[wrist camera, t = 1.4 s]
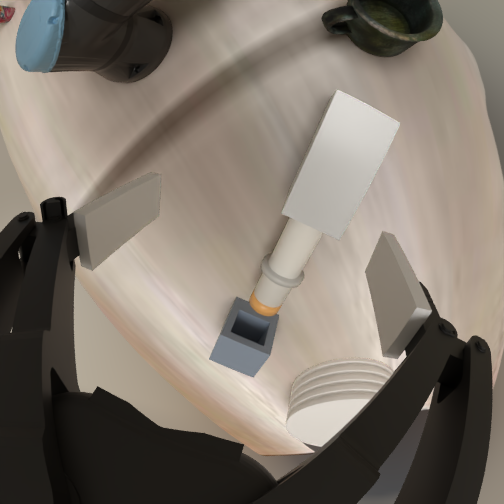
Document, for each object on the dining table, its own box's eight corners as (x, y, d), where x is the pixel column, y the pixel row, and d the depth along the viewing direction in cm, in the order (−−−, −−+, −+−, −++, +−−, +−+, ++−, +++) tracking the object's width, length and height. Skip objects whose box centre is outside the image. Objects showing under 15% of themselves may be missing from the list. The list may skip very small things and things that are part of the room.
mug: (422, 55, 25) (458, 39, 15) (336, 71, 30) (345, 52, 20) (393, -3, 21) (415, -35, 11) (306, 11, 26) (302, -25, 16)
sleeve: (331, 96, 32) (337, 89, 24) (379, 121, 32) (400, 123, 24) (288, 191, 41) (281, 213, 32) (334, 212, 41) (339, 240, 32)
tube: (334, 103, 31) (338, 99, 25) (377, 125, 31) (390, 127, 25) (249, 285, 47) (240, 309, 41) (284, 300, 47) (279, 325, 41)
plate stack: (327, 422, 70) (324, 453, 60) (269, 382, 64) (261, 419, 54) (411, 391, 57) (416, 426, 47) (368, 339, 51) (373, 383, 41)
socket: (236, 296, 52) (220, 334, 43) (278, 315, 52) (270, 355, 43) (224, 322, 57) (208, 359, 48) (263, 339, 56) (253, 377, 47)
